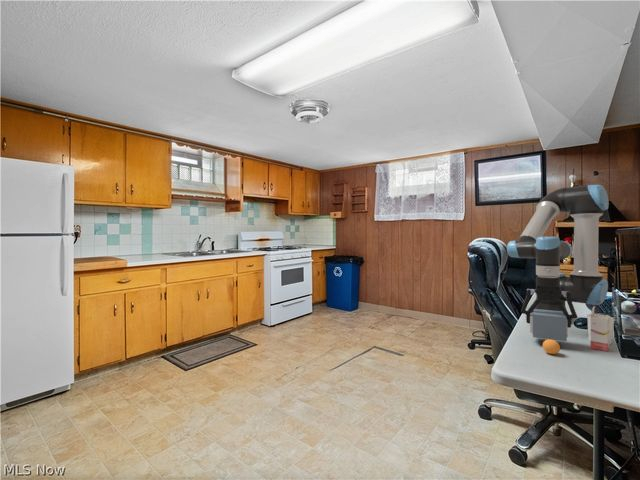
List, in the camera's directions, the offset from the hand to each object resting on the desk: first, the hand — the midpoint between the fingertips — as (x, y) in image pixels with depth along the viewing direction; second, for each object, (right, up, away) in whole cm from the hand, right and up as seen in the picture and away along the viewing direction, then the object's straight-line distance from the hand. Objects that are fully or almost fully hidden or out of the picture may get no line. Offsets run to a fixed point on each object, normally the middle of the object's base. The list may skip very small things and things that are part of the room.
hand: (547, 333), depth 123 cm
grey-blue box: (0, -1, 0) cm, 1 cm away
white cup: (+22, -4, +2) cm, 22 cm away
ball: (-7, -1, -11) cm, 13 cm away
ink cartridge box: (+16, -4, -4) cm, 17 cm away
